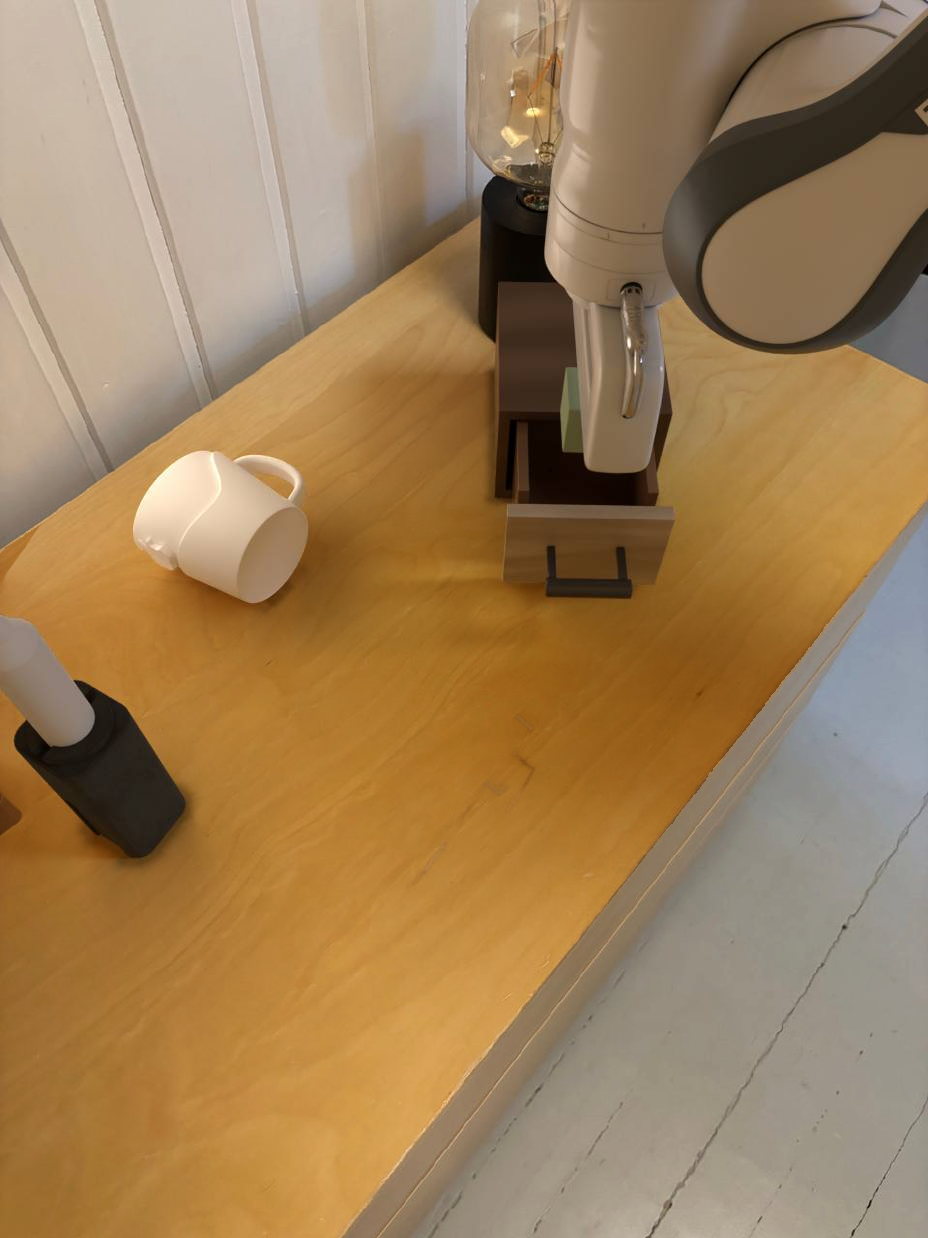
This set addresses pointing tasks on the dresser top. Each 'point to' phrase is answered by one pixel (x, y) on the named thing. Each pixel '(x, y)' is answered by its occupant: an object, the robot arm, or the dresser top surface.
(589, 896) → the dresser top surface
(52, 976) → the dresser top surface
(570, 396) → the block
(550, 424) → the drawer
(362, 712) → the dresser top surface
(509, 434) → the cabinet
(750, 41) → the robot arm
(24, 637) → the candle
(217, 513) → the mug
